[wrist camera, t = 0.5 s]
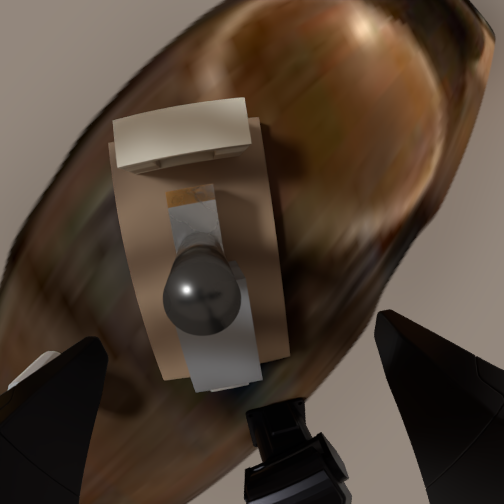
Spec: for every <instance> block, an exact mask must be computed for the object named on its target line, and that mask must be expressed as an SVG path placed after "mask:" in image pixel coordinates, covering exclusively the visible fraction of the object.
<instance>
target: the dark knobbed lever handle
mask: <svg viewBox="0 0 504 504" xmlns="http://www.w3.org/2000/svg"><path fill="white" fill-rule="evenodd" d="M165 194H166V200H167V206H168V212H169V218H170V223H171V229H172V234H173V239H174V245H175V250H176V257H175V260H174V263H173V265H172V268H171V271H170V274H169V276H168V279H167V282H166V285H165V287H164V291H163V306H164V310H165V312H166V314H167V316H168V318H169V319H170V321H171V322H172V323H173V324H174V325H175V326H176V327H177V328H179V329H180V330H182V331H184V332H186V333H188V334H192V335H197V336H208V335H213V334H216V333H219V332H221V331H223V330H224V329H226V328H227V327H228V326H230V325H231V324H232V322H233V321H234V320H235V318H236V317H237V315H238V313H239V310H240V307H241V292H240V288H239V286H238V283H237V281H236V279H235V277H234V274H233V272H232V270H231V268H230V266H229V263H228V261H227V259H226V256H225V254H224V249H223V244H222V238H221V232H220V225H219V219H218V213H217V207H216V200H215V194H214V188H213V184H208V185H202V186H196V187H190V188H185V189H179V190H174V191H169V192H165ZM245 385H249V383H245V384H240V385H235V386H230V387H225V388H219V389H214V390H211V392H214V391H219V390H225V389H230V388H235V387H240V386H245Z"/></svg>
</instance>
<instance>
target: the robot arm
mask: <svg viewBox="0 0 504 504" xmlns="http://www.w3.org/2000/svg"><path fill="white" fill-rule="evenodd" d="M374 337H375V342H376V345H377V348H378V351H379V355H380V358H381V361H382V365H383V369H384V372H385V375H386V379H387V381H388V384H389V387H390V389H391V392H392V394H393V396H394V399H395V402H396V404H397V407H398V409H399V412H400V414H401V417H402V420H403V422H404V425H405V428H406V431H407V433H408V436H409V439H410V441H411V445H412V447H413V450H414V453H415V456H416V459H417V462H418V465H419V468H420V472H421V475H422V478H423V481H424V485H425V487H426V492H427V495H428V499H429V502H430V504H504V370H502V369H500V368H498V367H496V366H494V365H492V364H490V363H489V362H487V361H485V360H483V359H481V358H479V357H478V356H476V357H475V355H474V354H472V353H470V352H468V351H467V350H465V349H463V348H461V347H459V346H458V345H456V344H454V343H452V342H450V341H448V340H446V339H445V338H443V337H441V336H439V335H437V334H436V333H434V332H432V331H430V330H428V329H426V328H424V327H423V326H421V325H419V324H417V323H415V322H413V321H412V320H409V319H408V318H406V317H404V316H402V315H400V314H398V313H396V312H395V311H393V310H390V309H389V310H384V311H380V312H378V314H377V318H376V325H375V332H374ZM107 365H108V355H107V353H106V351H105V349H104V347H103V345H102V343H101V341H100V339H99V338H98V337H96V336H88V337H85V338H84V339H82V340H81V341H79V342H78V343H76V344H75V345H73V346H72V347H70V348H69V349H67V350H66V351H64V352H63V353H62V354H60V355H59V356H57V357H56V358H54V359H53V360H51V361H50V362H48V363H47V364H45V365H44V366H42V367H41V368H39V369H38V370H36V371H35V372H34V373H32V374H31V375H29V376H28V377H26V378H25V379H23V380H22V381H20V382H19V383H18V384H16V386H13V387H12V388H10V389H9V390H7V391H6V392H4V393H3V394H2V395H0V504H79V498H80V497H79V496H80V490H81V484H82V478H83V473H84V468H85V463H86V458H87V453H88V448H89V444H90V439H91V435H92V431H93V427H94V423H95V419H96V415H97V411H98V408H99V404H100V400H101V396H102V391H103V385H104V380H105V375H106V370H107ZM299 402H300V403H299ZM250 414H252V415H250ZM246 418H247V422H248V426H249V430H250V434H251V438H252V441H253V445H254V446H255V447H258V448H259V452H260V455H261V459H262V462H263V463H261V464H259V465H256V466H254V467H252V468H250V467H249V468H247V469H245V485H244V500H245V501H246V504H351V500H352V495H351V493H350V491H349V490H348V488H347V486H346V485H345V483H344V481H346V480H347V479H349V477H348V474H347V471H346V468H345V465H344V463H343V461H342V460H341V458H340V456H339V455H338V453H337V451H336V450H335V449H334V447H333V446H332V445H331V444H330V442H329V441H328V440H327V439H326V437H325V436H324V435H323V434H322V432H320V433H319V434H317V436H315V437H313V438H312V436H311V434H310V432H309V430H308V428H307V426H306V423H305V422H306V420H305V402H304V400H303V399H302V398H298V399H294V400H290V401H287V402H283V403H279V404H275V405H271V406H267V407H263V408H259V409H254V410H249V411H247V412H246Z"/></svg>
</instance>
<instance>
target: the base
mask: <svg viewBox="0 0 504 504" xmlns="http://www.w3.org/2000/svg"><path fill="white" fill-rule="evenodd" d="M113 130H114V141H115V142H111V143H108V144H109V154H110V163H111V172H112V179H113V186H114V193H115V200H116V206H117V212H118V217H119V223H120V228H121V233H122V238H123V243H124V248H125V252H126V257H127V261H128V265H129V270H130V274H131V278H132V282H133V285H134V289H135V293H136V297H137V300H138V304H139V307H140V311H141V314H142V318H143V321H144V324H145V327H146V331H147V334H148V337H149V340H150V343H151V346H152V349H153V352H154V355H155V358H156V360H157V363H158V366H159V369H160V371H161V374H162V377H163V379H164V380H171V379H179V378H186V377H191V380H192V383H193V386H194V389H195V391H196V392H202V391H208V390H214V389H219V388H225V387H230V386H235V385H240V384H245V383H250V382H254V381H259V380H263V379H262V374H261V368H260V363H264V362H269V361H273V360H277V359H281V358H285V357H289V356H290V349H289V339H288V330H287V321H286V312H285V303H284V295H283V286H282V278H281V270H280V262H279V254H278V246H277V238H276V231H275V223H274V216H273V209H272V201H271V194H270V187H269V181H268V174H267V167H266V160H265V154H264V147H263V141H262V134H261V128H260V122H259V117H255V118H247V111H246V105H245V99H244V98H233V99H224V100H215V101H207V102H200V103H193V104H187V105H181V106H175V107H170V108H165V109H160V110H155V111H150V112H145V113H141V114H137V115H132V116H128V117H124V118H121V119H117V120H113ZM208 184H213V188H214V194H215V200H216V207H217V213H218V219H219V225H220V232H221V238H222V244H223V249H224V254H225V256H226V259H227V261H228V263H229V266H230V268H231V270H232V272H233V274H234V277H235V279H236V281H237V283H238V286H239V288H240V292H241V307H240V310H239V313H238V315H237V317H236V318H235V320H234V321H233V322H232V324H231V325H230V326H228V327H227V328H226V329H224V330H223V331H221V332H219V333H216V334H213V335H208V336H197V335H192V334H188V333H186V332H184V331H182V330H180V329H179V328H177V327H176V326H175V325H174V324H173V323H172V322H171V321H170V319H169V318H168V316H167V314H166V312H165V310H164V306H163V291H164V287H165V285H166V282H167V279H168V276H169V274H170V271H171V268H172V265H173V263H174V260H175V257H176V250H175V245H174V239H173V234H172V229H171V223H170V218H169V212H168V206H167V200H166V194H165V192H169V191H174V190H179V189H185V188H190V187H196V186H202V185H208Z"/></svg>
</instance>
